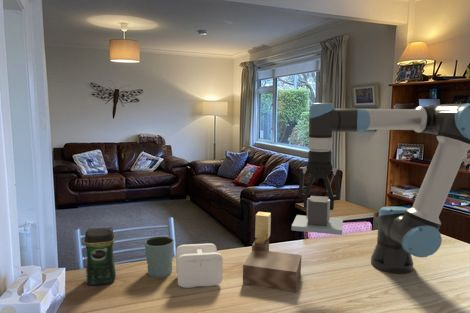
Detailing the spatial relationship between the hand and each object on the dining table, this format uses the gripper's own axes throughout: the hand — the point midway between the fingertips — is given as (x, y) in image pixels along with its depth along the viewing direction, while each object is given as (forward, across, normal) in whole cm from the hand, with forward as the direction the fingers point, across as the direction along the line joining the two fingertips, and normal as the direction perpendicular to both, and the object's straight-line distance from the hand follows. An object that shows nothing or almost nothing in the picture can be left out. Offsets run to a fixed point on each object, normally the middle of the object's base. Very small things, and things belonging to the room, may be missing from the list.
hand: (318, 218), depth 127 cm
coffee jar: (+22, +71, +22) cm, 77 cm away
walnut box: (+23, +15, -3) cm, 28 cm away
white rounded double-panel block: (+23, +39, +12) cm, 47 cm away
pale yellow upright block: (+14, +22, -12) cm, 29 cm away
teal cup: (+22, +55, +10) cm, 60 cm away
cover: (+3, 0, 0) cm, 3 cm away
